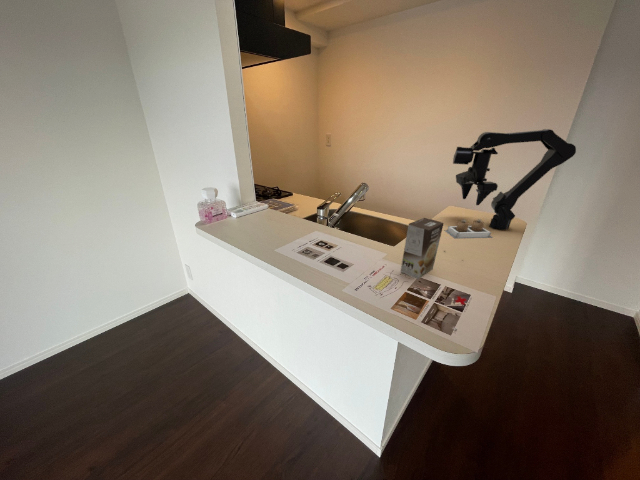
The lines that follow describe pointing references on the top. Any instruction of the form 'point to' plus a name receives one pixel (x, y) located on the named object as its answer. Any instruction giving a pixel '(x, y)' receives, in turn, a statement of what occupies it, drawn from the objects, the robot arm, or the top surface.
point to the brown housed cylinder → (477, 226)
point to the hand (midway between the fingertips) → (470, 202)
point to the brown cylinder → (462, 226)
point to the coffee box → (421, 247)
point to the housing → (467, 233)
